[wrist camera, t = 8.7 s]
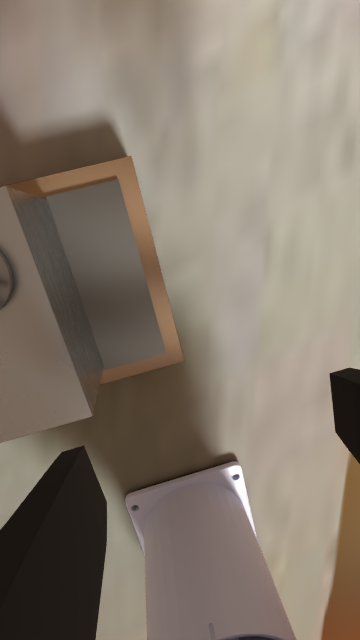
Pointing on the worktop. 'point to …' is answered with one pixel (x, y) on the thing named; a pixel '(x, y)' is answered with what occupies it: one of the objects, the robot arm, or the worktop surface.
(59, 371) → the housing
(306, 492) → the worktop surface
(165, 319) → the stand
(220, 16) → the worktop surface
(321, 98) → the worktop surface
